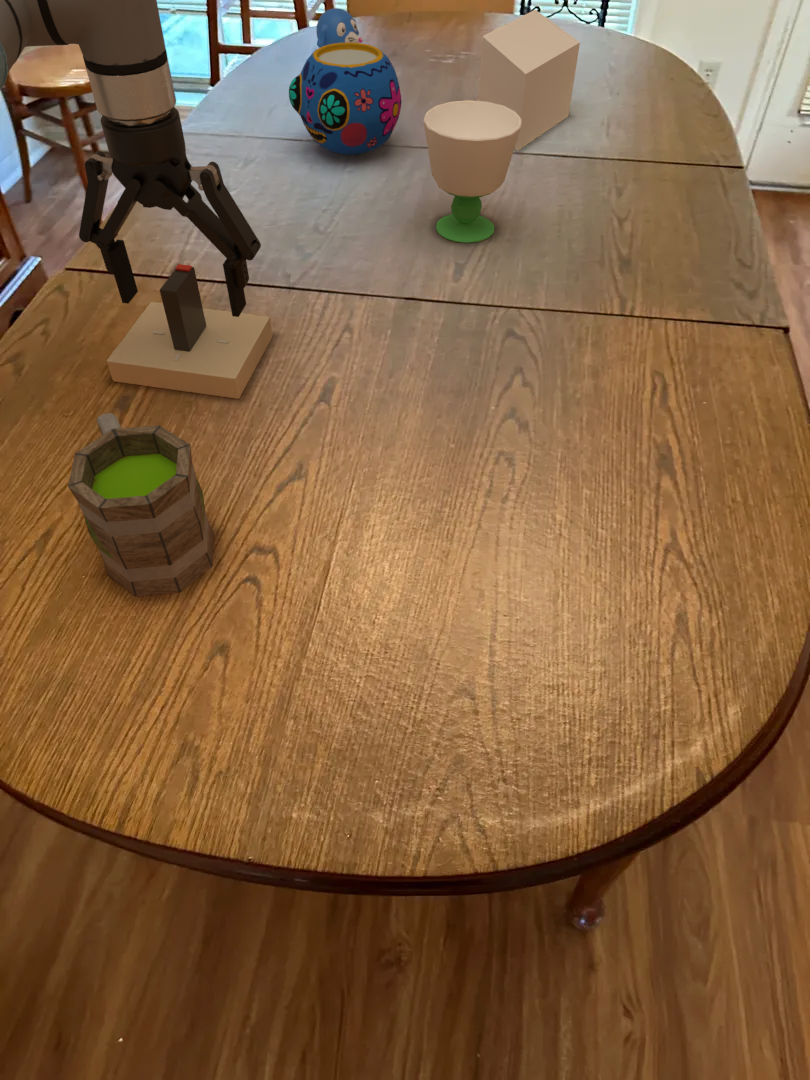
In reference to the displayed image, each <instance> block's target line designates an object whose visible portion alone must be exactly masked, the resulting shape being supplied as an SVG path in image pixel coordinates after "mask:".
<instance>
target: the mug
mask: <svg viewBox="0 0 810 1080" xmlns="http://www.w3.org/2000/svg"><path fill="white" fill-rule="evenodd" d="M96 424H97V425H98V428H99V431H100V434H101V436H99V437H98V438H96V439H95V440H93V441H92V442H90V443H89V444H87V445H86V446H84V447H82V448H81V449H79V450H78V451H76V452H74V457H73V460H72V466H71V468H70V469H71V470H70V475H69V479H68V484H67V488H68V489H69V490H70V492H71V493H72V495H73V497H74V498H75V500H76V501H77V503H78V507H80V510H81V513H82V514H83V517H84V521H85V524H86V528H87V531H88V535H89V536H90V537H91V539H92V541H93V543H94V545H95V546H96V547H97V549H98V552H99V554H100V556H101V558H102V560H103V564H104V568H105V572H106V576H108V578H110V579H111V580H113V581H114V582H115V583H116V584H118V585H120V586H121V587H122V588H123V589H125V590H126V591H127V592H129V593H130V594H131V595H133V596H134V597H145V596H155V595H166V594H167V595H168V594H176V593H181V592H183V591H184V590H185V589H186V588H187V587H189V586H190V585H191V584H192V583H194V582H195V581H196V580H197V579H198V578H200V577H201V576H202V575H203V574H204V573H206V572H207V571H208V570H209V569H211V568H212V567H213V564H214V547H215V546H214V545H215V544H214V542H215V533H214V530H213V529H212V527H211V525H210V523H209V518H208V516H207V512H206V506H205V498H204V493H203V489H202V487H201V484H200V482H199V480H198V477H197V474H196V470H195V466H194V463H193V456H192V448H191V446H192V445H191V443H189V442H187V441H186V440H184V439H183V438H181V437H179V436H178V435H176V434H174V433H173V432H172V431H169V430H168V429H166V428H164V427H163V426H161V425H160V424H159V425H148V426H134V427H133V426H132V427H122V426H121V424H120V422H119V420H118V417H117V416H116V414H114V413H112V412H108V413H107V412H106V413H103V414H101V415H99V416H97V419H96Z"/></svg>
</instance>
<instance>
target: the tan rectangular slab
mask: <svg viewBox="0 0 810 1080" xmlns="http://www.w3.org/2000/svg"><path fill="white" fill-rule="evenodd" d="M203 312H204V317H205V322H206V327H205V329H204V330H203V332H202V334H201V335H200V337H199V338H198V340H197V341H196V343H195V344H194V346H193V347H192V349H191V351H182V350H175V349H174V346H173V342H172V338H171V334H170V330H169V326H168V322H167V318H166V314H165V310H164V306H163V302H158V301H150V302H149V303H148V305H147V306H146V307H145V309H144V310H143V311H142V313H141V314H140V316H139V317H138V318H137V320H136V321H135V322H134V323H133V325H132V326H131V327H130V329H129V330H128V332H127V333H126V334H125V335H124V337H123V338H122V339H121V341H120V342H119V344H118V345H117V346H116V348H114V350H113V351H112V353H111V354H110V355H109V357H108V358H107V359H106V365H107V366H108V367H107V368H108V370H109V373H110V376H111V379H112V382H116V383H122V384H130V385H138V386H142V387H143V386H144V387H152V388H156V389H157V388H159V389H165V390H172V391H179V392H186V393H193V394H200V395H208V396H213V397H222V398H228V399H236V400H239V399H241V397H242V394H243V393H244V390H245V389H246V387H247V385H248V384H249V381H250V380H251V377H252V376H253V374H254V372H255V370H256V368H258V367H257V366H258V365H259V363H260V361H261V359H262V357H263V355H264V353H266V350H267V348H268V346H269V344H270V342H271V341H272V339H273V330H272V321H271V316H267V315H261V314H260V315H259V314H253V313H246V312H245V313H243V312H241V314H240V316H239V317H234V316H232V311H228V310H222V309H220V310H219V309H213V308H205V307H203Z"/></svg>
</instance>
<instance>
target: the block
mask: <svg viewBox="0 0 810 1080" xmlns="http://www.w3.org/2000/svg"><path fill="white" fill-rule="evenodd" d="M580 45H581V42H580V41H579V40H578V39H576V38H575V37H573V36H572V35H571V34H569V33H568V32H567V31H565V30H564V29H562V28H561V27H560V26H558V25H557V24H555V23H554V22H553V21H552V20H550V19H549V18H548V17H546V16H544V14H542V13H541V12H539V11H538V10H537V9H534V10H531V11H530V12H528V13H526V14H523V15H522V16H520V17H518V18H516V19H514V20H511V21H510V22H508V23H506V24H504V25H501V26H499V27H497V28H496V29H494V30H492V31H490V32H488V33H486V34H484V35H482V36H481V49H480V50H481V51H480V52H481V53H480V60H479V61H480V63H479V77H478V90H477V101H484V102H490V103H494V104H499V105H503V106H505V107H507V108H509V109H511V110H513V111H515V112H516V113H517V114H518V116H519V117H520V118H521V119H522V123H521V128H520V132H519V135H518V138H517V141H516V145H515V148H514V150H515V151H516V152H519V150H522V149H523V148H525V146H527V145H529V144H530V143H531V142H533V141H534V140H536V139H537V138H540V136H541V135H543V134H545V133H546V132H547V131H549V130H551V129H552V128H553V127H555V126H557V125H558V124H559V123H560V122H562V121H564V120H565V119H566V118H568V117H569V116H570V109H571V102H572V95H573V90H574V84H575V76H576V71H577V65H578V58H579V51H580Z"/></svg>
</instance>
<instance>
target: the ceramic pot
mask: <svg viewBox="0 0 810 1080" xmlns="http://www.w3.org/2000/svg"><path fill="white" fill-rule="evenodd" d="M300 71H301V72H300V73H299V74H298V75H297V76H296V77H294V78H293V79H292V80H291V82H290V84H289V86H288V99H289V102H290V103H289V104H290V105H291V106H292V108H293V110H294V111H295V112H296V113H297V114H298V115H299V116H300V119H301V121H302V123H303V125H304V127H305V129H306V131H307V133H308V134H309V135H310V137H311V139H312V140H313V141H314V143H316V144H318V145H319V146H320V147H322V148H323V149H325V150H328V151H330V152H333V153H336V154H339V155H346V156H355V155H356V156H357V155H362V154H366V153H369V152H372V151H374V150H376V149H378V148H380V147H381V146H383V145H385V143H386V142H387V141H388V140H390V137H391V136H392V134H393V132H394V129H395V128H396V125H397V123H398V121H399V118H400V115H401V110H402V94H401V88H400V83H399V78H398V75H397V72H396V69H395V67H394V65H393V63H392V62H391V60H390V58H389V57H388V56H387V55H386V54H385V53H384V52H383V51H382V50H381V49H380V48H378V47H376V46H374V45H371V44H367V43H363V42H362V43H360V42H359V43H351V42H349V43H335V44H329V45H326V46H323V47H321V48H319V47H318V48H317V49H315V50H314V51H313V52H312V53H311V55H310V56H309V57H308V58H307V59H306V61H305V63H304V64H303V67H302V69H301V70H300Z"/></svg>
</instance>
